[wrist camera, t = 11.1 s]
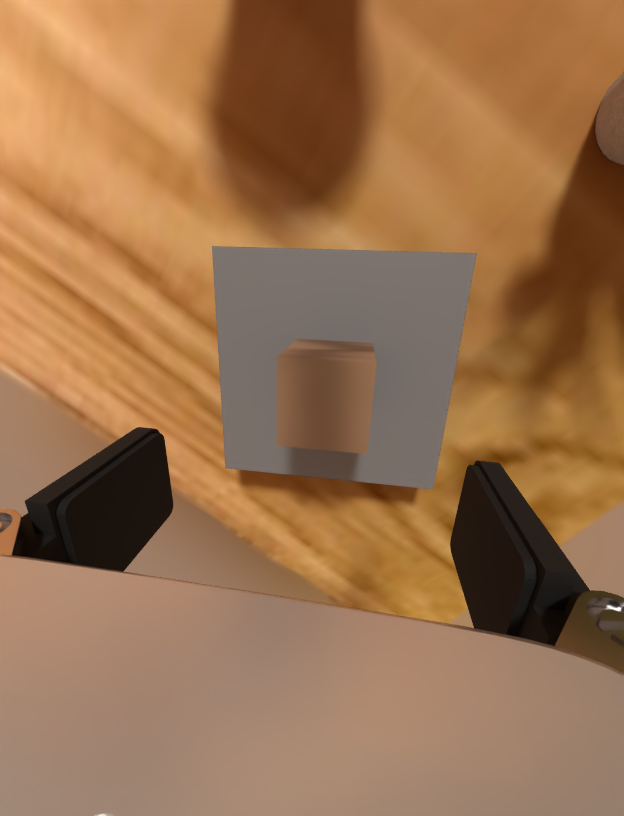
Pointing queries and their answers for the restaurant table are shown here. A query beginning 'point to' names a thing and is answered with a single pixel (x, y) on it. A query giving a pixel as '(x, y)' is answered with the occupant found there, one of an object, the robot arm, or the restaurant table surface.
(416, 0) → the restaurant table surface
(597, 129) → the house plant
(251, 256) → the grey square slab
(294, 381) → the walnut block
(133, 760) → the robot arm
